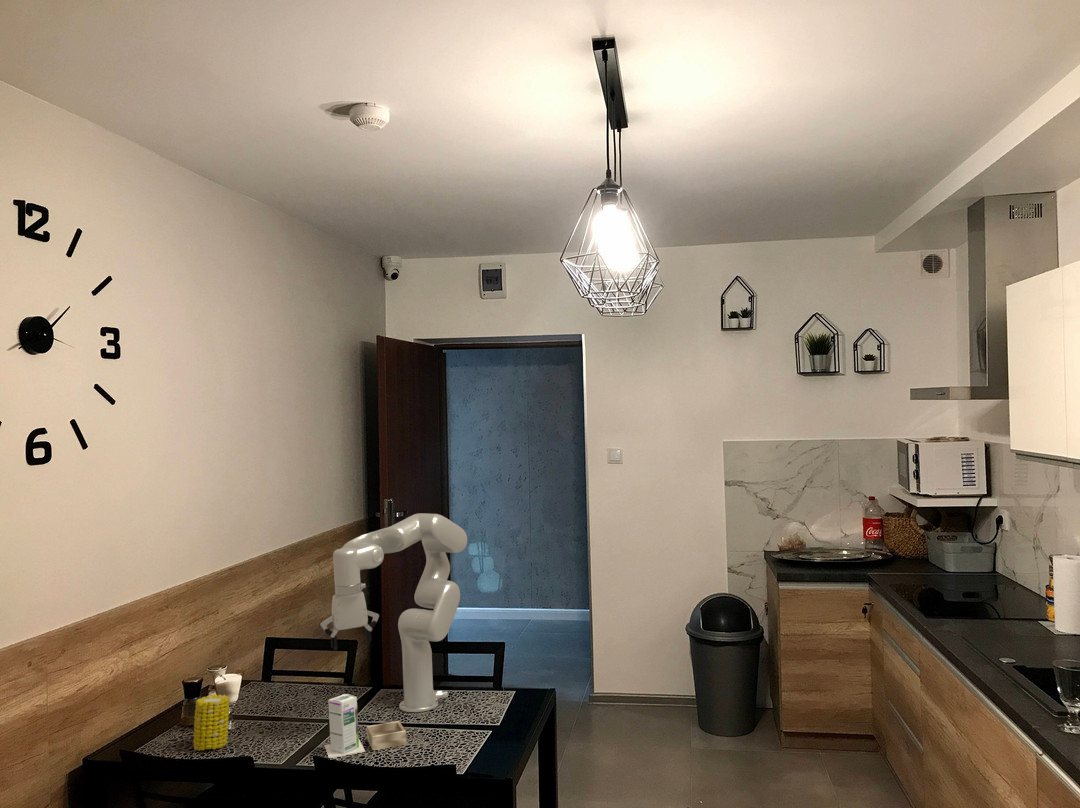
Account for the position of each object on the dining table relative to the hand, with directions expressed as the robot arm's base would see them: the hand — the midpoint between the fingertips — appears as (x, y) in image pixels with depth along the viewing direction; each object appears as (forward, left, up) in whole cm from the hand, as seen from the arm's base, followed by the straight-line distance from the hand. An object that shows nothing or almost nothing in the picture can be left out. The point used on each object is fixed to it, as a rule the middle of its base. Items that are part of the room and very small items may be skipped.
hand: (351, 646), depth 249 cm
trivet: (+5, +10, -26) cm, 29 cm away
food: (+40, -12, -27) cm, 49 cm away
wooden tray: (-7, +10, -26) cm, 29 cm away
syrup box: (+5, +11, -26) cm, 28 cm away
